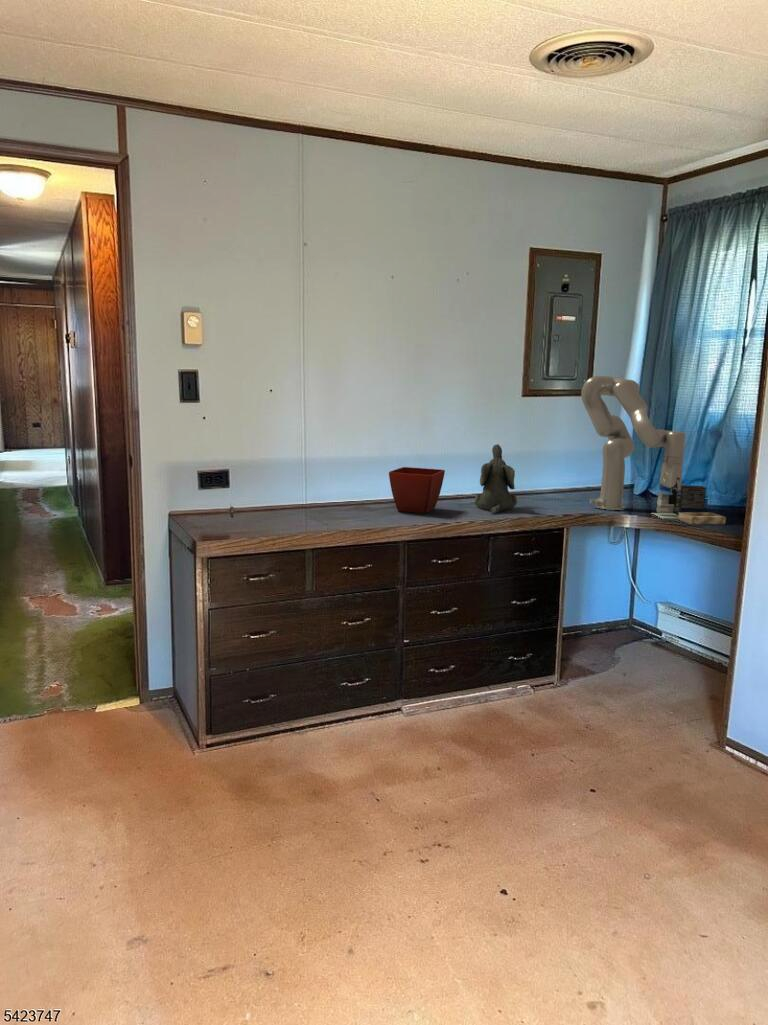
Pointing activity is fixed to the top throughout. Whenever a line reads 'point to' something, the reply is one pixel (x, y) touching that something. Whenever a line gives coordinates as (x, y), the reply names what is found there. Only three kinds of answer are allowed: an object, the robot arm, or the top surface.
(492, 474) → the grey seated figure statue
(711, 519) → the pocket block
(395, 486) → the plant pot
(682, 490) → the small box
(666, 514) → the pad
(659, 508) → the label tape box
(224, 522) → the top surface
